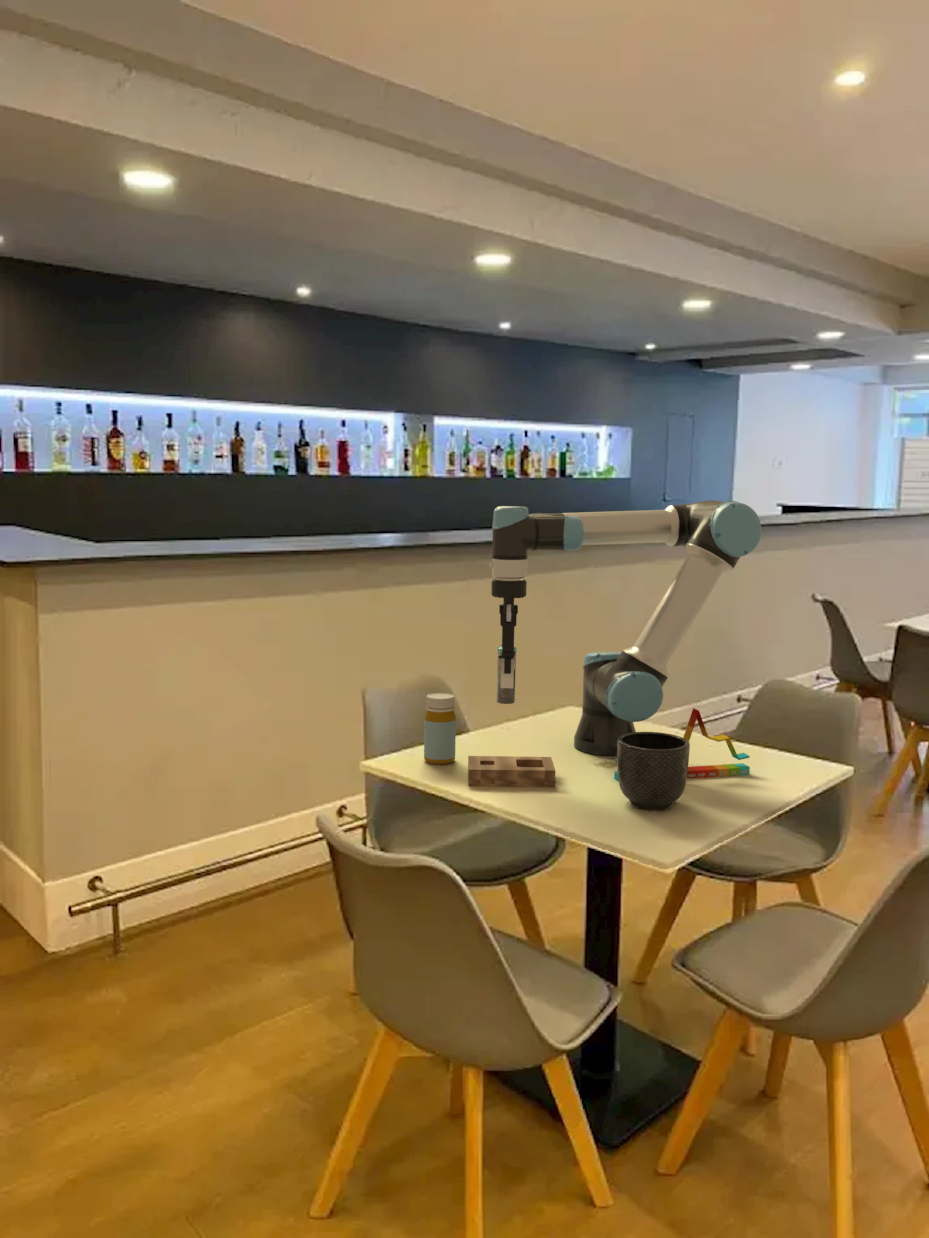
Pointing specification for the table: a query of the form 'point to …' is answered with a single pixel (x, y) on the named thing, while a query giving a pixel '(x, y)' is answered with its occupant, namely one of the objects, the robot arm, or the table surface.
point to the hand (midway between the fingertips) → (506, 685)
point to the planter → (652, 768)
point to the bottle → (439, 729)
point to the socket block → (511, 771)
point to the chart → (711, 769)
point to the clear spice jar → (502, 693)
